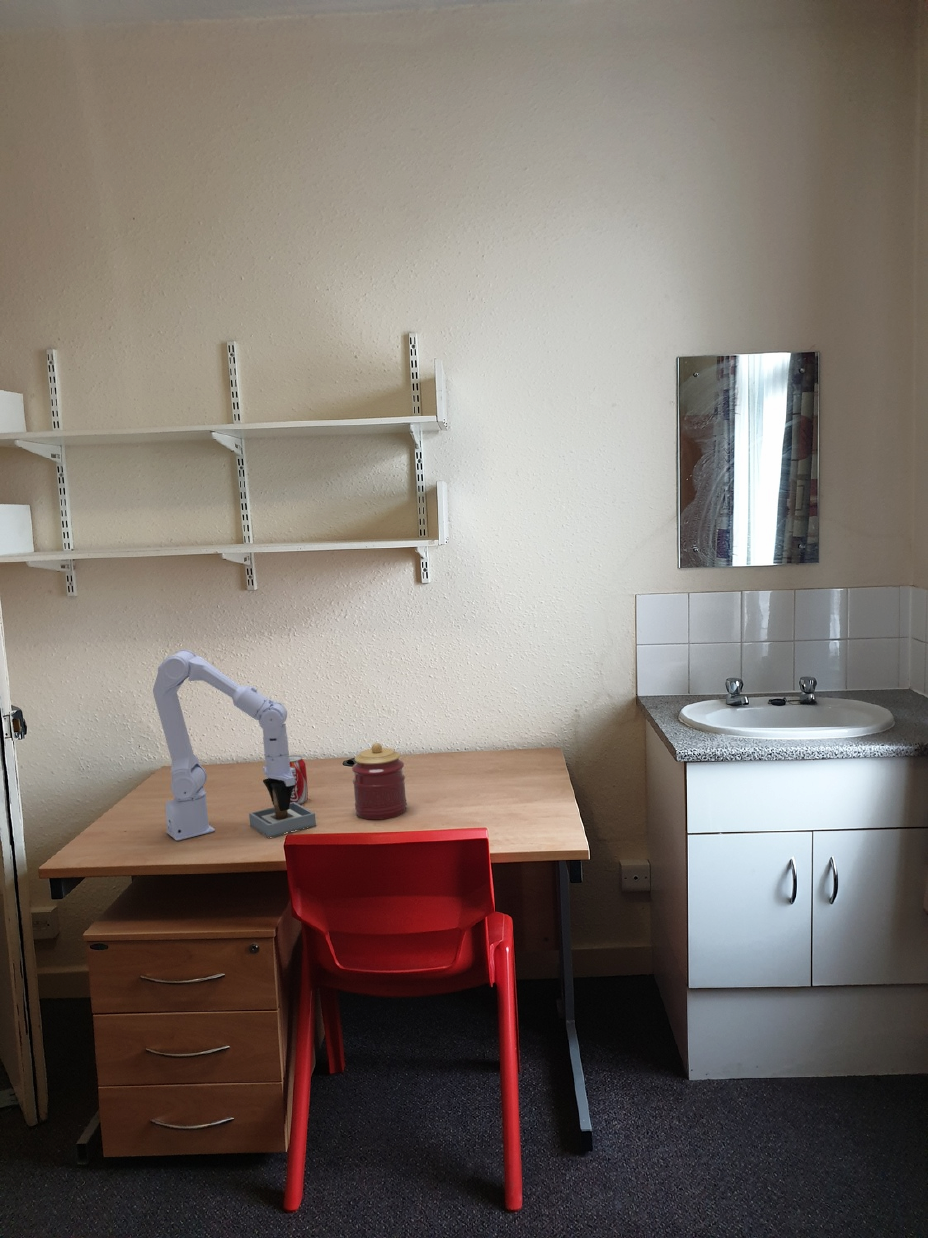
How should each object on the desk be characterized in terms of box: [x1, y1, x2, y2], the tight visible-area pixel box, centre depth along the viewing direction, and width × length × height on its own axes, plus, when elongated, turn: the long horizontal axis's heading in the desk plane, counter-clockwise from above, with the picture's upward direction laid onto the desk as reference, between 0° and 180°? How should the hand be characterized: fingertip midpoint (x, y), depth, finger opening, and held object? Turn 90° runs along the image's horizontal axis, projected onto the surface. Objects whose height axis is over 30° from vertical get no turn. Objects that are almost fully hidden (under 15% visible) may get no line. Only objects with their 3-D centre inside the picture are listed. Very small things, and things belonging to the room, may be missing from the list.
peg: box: [272, 790, 288, 819], centre depth 219 cm, size 3×3×7 cm
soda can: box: [289, 754, 309, 805], centre depth 237 cm, size 7×7×12 cm
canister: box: [351, 742, 408, 820], centre depth 225 cm, size 13×13×18 cm
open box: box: [248, 802, 317, 839], centre depth 220 cm, size 12×12×3 cm
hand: (281, 808), depth 219 cm, fingers closed on peg, 3 cm apart
